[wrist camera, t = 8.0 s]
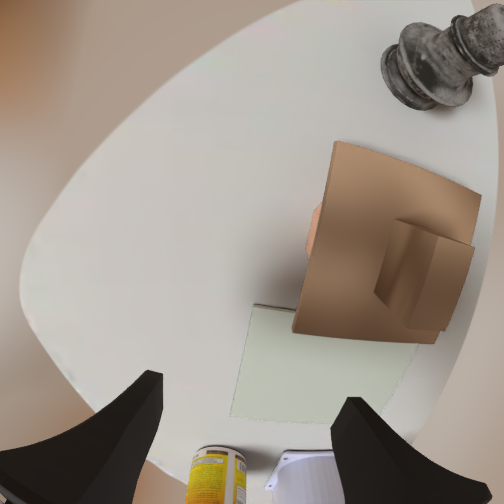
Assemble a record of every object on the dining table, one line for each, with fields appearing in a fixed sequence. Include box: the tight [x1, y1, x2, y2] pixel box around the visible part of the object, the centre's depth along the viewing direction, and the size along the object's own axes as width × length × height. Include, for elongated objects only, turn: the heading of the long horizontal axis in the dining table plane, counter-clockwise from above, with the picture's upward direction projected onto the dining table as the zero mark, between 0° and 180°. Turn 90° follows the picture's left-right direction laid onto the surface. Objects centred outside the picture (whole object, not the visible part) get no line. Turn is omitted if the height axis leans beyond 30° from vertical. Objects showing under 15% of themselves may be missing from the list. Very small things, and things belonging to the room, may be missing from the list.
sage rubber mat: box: [230, 304, 419, 424], centre depth 20 cm, size 11×14×1 cm
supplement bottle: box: [185, 447, 246, 504], centre depth 19 cm, size 6×6×10 cm
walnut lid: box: [291, 141, 482, 344], centre depth 12 cm, size 10×10×5 cm
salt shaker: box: [381, 4, 504, 111], centre depth 9 cm, size 6×6×12 cm
